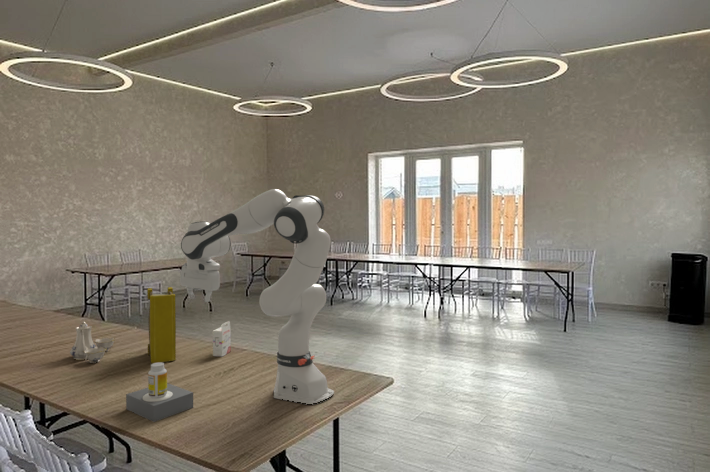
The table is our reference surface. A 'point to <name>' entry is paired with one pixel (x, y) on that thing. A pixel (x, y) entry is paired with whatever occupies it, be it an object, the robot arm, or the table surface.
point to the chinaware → (89, 345)
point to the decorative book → (162, 326)
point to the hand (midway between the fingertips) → (199, 300)
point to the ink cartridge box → (222, 340)
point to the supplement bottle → (157, 380)
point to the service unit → (159, 403)
